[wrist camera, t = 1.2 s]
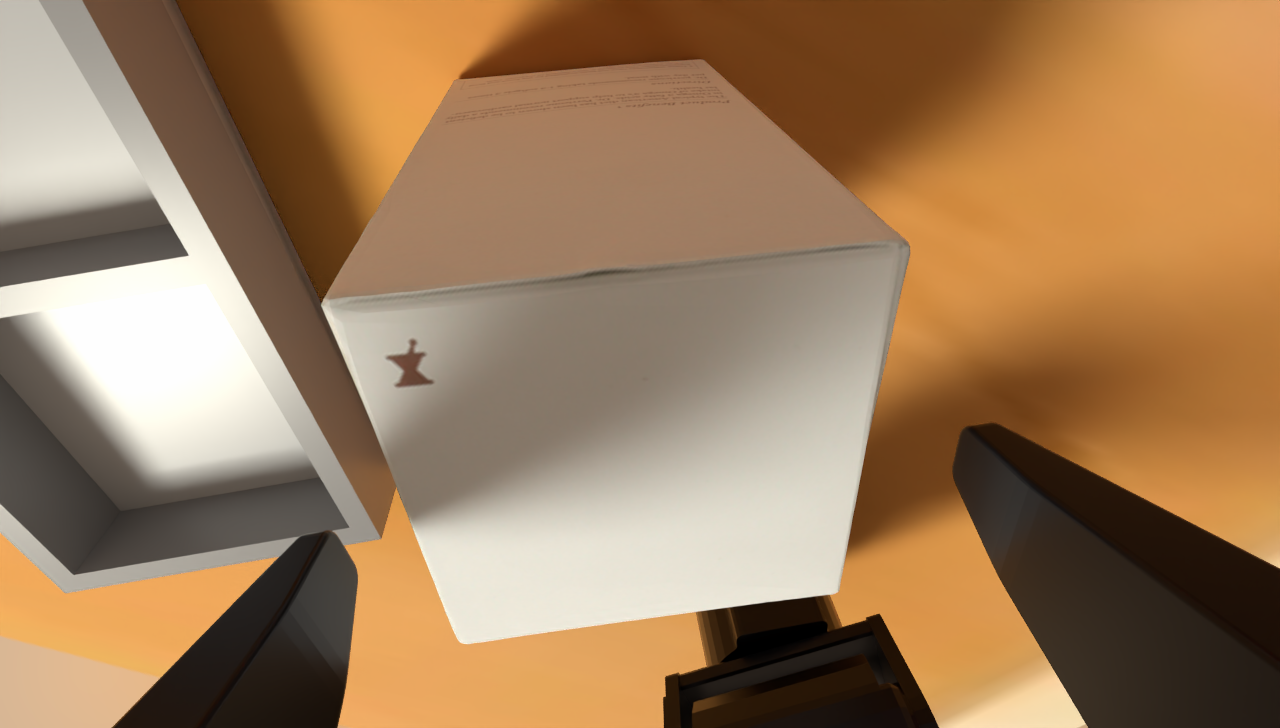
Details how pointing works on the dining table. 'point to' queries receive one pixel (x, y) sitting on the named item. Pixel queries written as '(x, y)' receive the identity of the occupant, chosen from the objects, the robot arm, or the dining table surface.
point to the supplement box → (618, 349)
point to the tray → (156, 318)
